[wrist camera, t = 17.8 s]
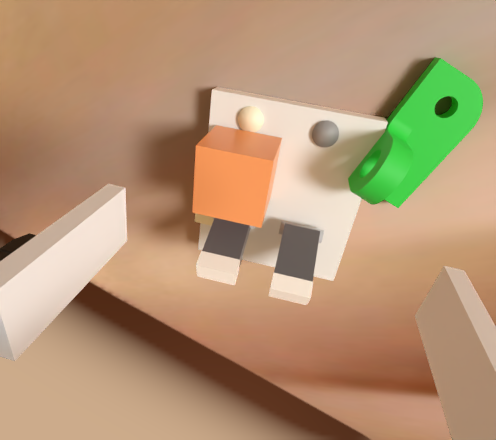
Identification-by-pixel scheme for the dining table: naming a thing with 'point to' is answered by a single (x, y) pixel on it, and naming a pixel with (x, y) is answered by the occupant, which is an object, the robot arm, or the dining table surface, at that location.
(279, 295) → the lever plain
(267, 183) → the cap
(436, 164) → the mechanical part
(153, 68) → the dining table surface
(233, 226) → the lever tagged
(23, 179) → the dining table surface
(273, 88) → the dining table surface
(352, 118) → the panel
